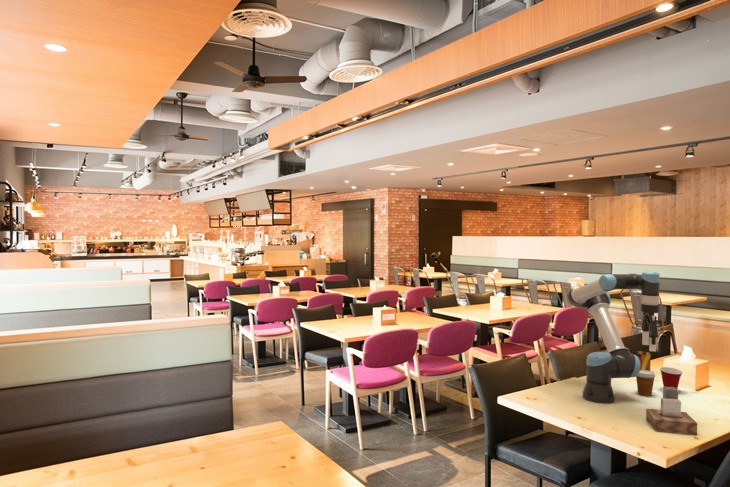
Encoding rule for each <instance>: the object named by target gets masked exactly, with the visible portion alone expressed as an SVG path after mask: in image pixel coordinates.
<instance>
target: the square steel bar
mask: <svg viewBox="0 0 730 487" xmlns="http://www.w3.org/2000/svg"><path fill="white" fill-rule="evenodd" d="M662 398H666V399H678V400H679V390H678V388H677V389H676V388H675V387H664V386H662Z"/></svg>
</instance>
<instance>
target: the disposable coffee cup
mask: <svg viewBox="0 0 730 487" xmlns="http://www.w3.org/2000/svg"><path fill="white" fill-rule="evenodd" d="M655 377H656V375H655V372H654V371H651V370H650V371H647V370H640V372H639V374H638V375H637V376H636V377H635V378H636V387H637V393H638V395H640V396H643V397H652V396H653V394H652V393H653V388H654V383H655Z"/></svg>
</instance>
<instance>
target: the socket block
mask: <svg viewBox="0 0 730 487" xmlns="http://www.w3.org/2000/svg"><path fill="white" fill-rule="evenodd" d="M645 420H646V421H647V423H648V424H649V425H650V427H651V428H652V429H653V431H655V432H665V433H674V434H681V435H682V434H683V435H693V436H697V435H698V423H697V422H696V420H695V419H694V418H693V417H692V416H690V415H689V413H688V412H686V411H681V418H674V417H664V416H661V409H657V408H655V409H654V408H646V410H645Z"/></svg>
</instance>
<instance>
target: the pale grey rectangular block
mask: <svg viewBox="0 0 730 487" xmlns="http://www.w3.org/2000/svg"><path fill="white" fill-rule="evenodd" d="M660 410H661V416H664V417H674V418H681V412H682V401H681V400H680V399H679V398H678V399H666V398H663V397H660Z"/></svg>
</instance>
